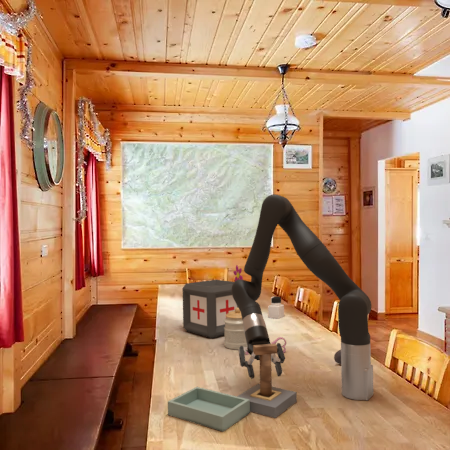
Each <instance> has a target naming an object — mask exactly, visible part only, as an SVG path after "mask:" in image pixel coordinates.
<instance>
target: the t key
mask: <svg viewBox="0 0 450 450" xmlns="http://www.w3.org/2000/svg"><path fill="white" fill-rule="evenodd" d="M253 353H254V354H255V355H259V358H260V360H259V384H260V396H264V397H270V396H272V387H273V385H272V379H273V378H272V377H273V376H272V362H271V354H275V355H276V354H277V344H272V343H271V344H263V345H253Z"/></svg>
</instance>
